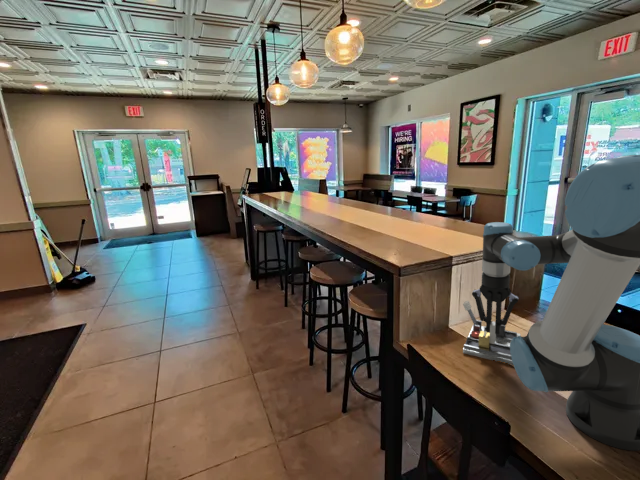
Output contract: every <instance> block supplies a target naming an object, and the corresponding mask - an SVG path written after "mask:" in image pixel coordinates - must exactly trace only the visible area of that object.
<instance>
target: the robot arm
mask: <svg viewBox="0 0 640 480" xmlns="http://www.w3.org/2000/svg"><path fill="white" fill-rule="evenodd" d="M564 206H566V209H565V211H564V215H565V219H566V222H567V224H568V225H569V226H570V228H571V229H570V230H568V231H566V232H564V233H561V234H553V235H552V234H551V235H539V236H536V235H535V236H522V237H521V236H516V235H514V230H513V225H512V224H511V223H509V222H501V221H500V222H499V221H495V222H493V221H492V222H488V223H486V224H485V225H484V227H483V233H482V259H481V260H482V261H481V262H482V266H481V271H482V273H481V286H480V287H479V288H478V289H474V290H472V293H471V295H472V296H473V298H474V300H475V304H476V308H477V312H478V316H479V319H480V321H482V322H484V323H486V324H485V326H486V331H487V332H489V333H490V340H489V343H491V344H495V341H496V334H499V333H500V325H505V326H507V324H508V321H509V318H510V316H511V313H512V311H513V308H514V306H515V305H516V304H517V303H519V299H520V296H519V295H515V294H513V293H512V290H511V288H510V281H511V275H510V274H511V268H513V269H515V270H517V271H529V270H531V269H533V268H535V267H536V266H537V265H549V264H551V265H552V264H567V265H566V267H565V269H564V271H563V274H562V276H561V278H560V280H559V283H558V285H557V287H556V289H555V291H554V294H553V295H552V298H551V301H550V303H549V305H548V307H547V310H546V312H545V314H544V316H543V318H542V320H539V321H537V322H535V323H533V324H532V325H531V326H530V327H529V329H528V333H526V334H527V335H525V336H521V335H520V336H518V337H514V338H512V340H511V342H510V353H511V358H512V362H513V365H514V366H513V365H512V366H513V367H514V370H515V372H516V374H517V377H518V378H519V380H520V381H521V382H522V384H523V386H525V387H526V388H527V389H529V390H530V391H534V392H545V393H548V392H571V393H569V394H570V395H569V396H568V397H567V399H566V405H565V413H566V416H567V417H568V419H569V420H570V421H571V423H572V424H573V425H574V426H575V427H576V428H577V429H579V431H580V432H582V433H584V434H585V435H587V436H588V437H590V438H592V439H593V440H595V441H598V442H600V443H602V444H604V445H606V446H609V447H613V448H616V449H620V450H626V451H640V335H639V334H637V333H634V332H633V331H630V330H628V329H624V328H621V327H618V326H614V325H609V324H605V322H606V320H607V318H608V317H609V315H610V314H611V312H612V311H613V309H614V307H615V306H616V304H617V302H618V301H619V299H620V297H621V296H622V294H623V292H624V291H625V290H626V288H627V286H628V284H630V281H631V279H632V278H633V276H634V275H635V273H636V272H637V270H638V268H639V267H640V154H627V155H621V156H618V157H615V158H605V159H602V160H598V161H596V162H594V163H593V164H592V163H591V164H589V165H588V166H587V167H584V169H582V170H581V171H580V172H579V173H578V174H577V175H576V176H575V178H574V179H573V181H572V182H571V183H570V185H569V187H568V190H567V192H566V195H565V199H564ZM481 295H483V297H484V299H486V312H485V310H484V305H483V300H482V296H481ZM508 297H509V298H508ZM507 298H508V300H509V301H508V302H509V303H508V305H507V309H506V311H505V313H504V316H503V318H502V306H503V305H502V303H503V302H504V301H505V300H506V299H507ZM493 302H494V303H495V321H493V320H492V319H493V316H492V315H493Z"/></svg>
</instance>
